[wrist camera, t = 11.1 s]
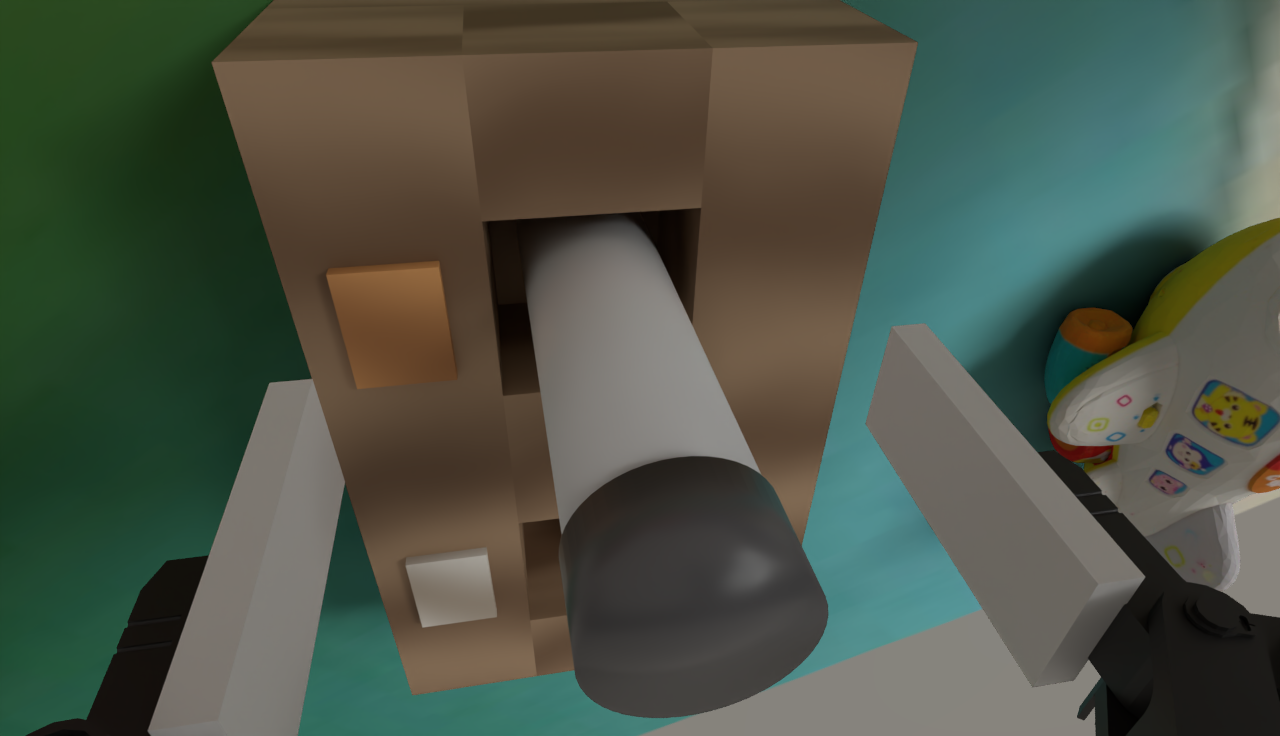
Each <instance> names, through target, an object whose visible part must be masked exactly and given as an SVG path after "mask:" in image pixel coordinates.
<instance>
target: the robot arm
mask: <svg viewBox="0 0 1280 736" xmlns="http://www.w3.org/2000/svg"><path fill="white" fill-rule="evenodd" d="M866 425H867V427H868V428H869V430H870V432H871V433H872V435H873V436H874V438H875V440H876V441H877V443H878V444H879V446H880V447H881V449H882V451H883V452H884V454H885V455H886V457H887V458H888V460H889V462H890V463H891V465H892V466H893V468H894V470H895V471H896V473H897V474H898V476H899V477H900V479H901V481H902V482H903V484H904V485H905V487H906V488H907V490H908V492H909V493H910V495H911V496H912V498H913V499H914V501H915V503H916V504H917V506H918V507H919V509H920V511H921V512H922V514H923V515H924V517H925V518H926V520H927V522H928V523H929V525H930V526H931V528H932V529H933V531H934V533H935V534H936V536H937V537H938V539H939V541H940V542H941V544H942V545H943V547H944V548H945V550H946V552H947V553H948V555H949V556H950V558H951V559H952V561H953V563H954V564H955V566H956V567H957V569H958V571H959V572H960V574H961V575H962V577H963V578H964V580H965V582H966V583H967V585H968V586H969V588H970V589H971V591H972V593H973V594H974V596H975V597H976V599H977V601H978V602H979V604H980V605H981V607H982V608H983V610H984V611H985V613H986V615H987V616H988V618H989V619H990V621H991V622H992V624H993V626H994V627H995V629H996V630H997V632H998V633H999V635H1000V637H1001V638H1002V640H1003V642H1004V643H1005V645H1006V646H1007V648H1008V649H1009V651H1010V653H1011V654H1012V656H1013V657H1014V659H1015V661H1016V662H1017V664H1018V665H1019V667H1020V668H1021V670H1022V671H1023V673H1024V675H1025V676H1026V678H1027V679H1028V681H1029V683H1030V684H1031V686H1032V687H1038V686H1044V685H1050V684H1056V683H1061V682H1066V681H1073V680H1074V679H1075V678H1076V677H1077V675H1078V674H1079V672H1080V671H1081V669H1082V668H1083V667H1084V665H1085V664H1086V662H1087V661H1088V659H1089V660H1090V662H1091V663H1092V665H1093V666H1094V667H1095V669H1096V670H1097V672H1098V673H1099V674H1100V676H1101V678H1100V680H1099V681H1098V682H1097V684H1096V685H1095V687H1094V688H1093V689H1092V691H1091V692H1090V693H1089V695H1088V696H1087V697H1086V699H1085V700H1084V702H1083V703H1082V704H1081V706H1080V708H1079V712H1078V715H1077V718H1079V719H1082V720H1085V719H1086V717H1087V716H1088V715H1089V713H1090V712H1091V711H1092V709H1093V708H1094V707H1095V725H1096V736H1280V618H1278V617H1272V616H1265V615H1258V614H1251V613H1249V612H1248V611H1247V610H1246V608H1245V607H1244V606H1242V605H1241V604H1239V603H1238V602H1236V601H1235V600H1234V599H1232V598H1231V597H1230V596H1228V595H1227V594H1225V593H1223V592H1220V591H1218V590H1216V589H1214V588H1211V587H1209V586H1207V585H1202V584H1197V583H1192V582H1186V581H1185V580H1184V579H1183V578H1182V577H1181V576H1180V575H1179V574H1178V573H1177V572H1176V571H1175V570H1174V569H1173V568H1172V566H1171V565H1170V564H1169V563H1168V562H1167V561H1166V560H1165V559H1164V558H1163V557H1162V556H1161V554H1160V553H1159V552H1158V551H1157V550H1156V549H1155V548H1154V547H1153V546H1152V545H1151V544H1150V542H1149V541H1148V540H1147V539H1146V538H1145V537H1144V536H1143V535H1142V534H1141V533H1140V532H1139V530H1138V529H1137V528H1136V527H1135V526H1134V525H1133V524H1132V523H1131V522H1130V521H1129V520H1128V518H1127V517H1126V516H1125V515H1124V514H1123V513H1119V512H1118V507H1117V506H1116V505H1115V504H1114V503H1113V502H1112V501H1111V500H1110V499H1109V498H1108V497H1107V495H1103V494H1102V490H1101V489H1100V488H1099V487H1098V486H1097V485H1096V483H1095V482H1094V481H1093V480H1092V479H1091V478H1090V477H1089V476H1088V475H1087V474H1086V473H1085V471H1084V470H1083V469H1082V468H1080V467H1079V466H1077V465H1076V464H1074V463H1073V462H1071V461H1070V460H1068V459H1067V458H1065V457H1064V456H1062V455H1060V454H1059V453H1057V452H1056V451H1054V450H1053V451H1045V452H1036V450H1035V449H1034V448H1033V447H1032V446H1031V445H1030V444H1029V442H1028V441H1027V440H1026V439H1025V438H1024V437H1023V435H1022V434H1021V433H1020V432H1019V431H1018V430H1017V429H1016V427H1015V426H1014V425H1013V424H1012V423H1011V422H1010V421H1009V419H1008V418H1007V417H1006V416H1005V415H1004V414H1003V412H1002V411H1001V410H1000V409H999V408H998V407H997V406H996V404H995V403H994V402H993V401H992V400H991V399H990V398H989V396H988V395H987V394H986V393H985V392H984V391H983V389H982V388H981V387H980V386H979V385H978V384H977V383H976V381H975V380H974V379H973V378H972V377H971V376H970V375H969V373H968V372H967V371H966V370H965V369H964V368H963V366H962V365H961V364H960V363H959V362H958V361H957V360H956V358H955V357H954V356H953V355H952V354H951V353H950V352H949V350H948V349H947V348H946V347H945V346H944V345H943V344H942V342H941V341H940V340H939V339H938V338H937V337H936V335H935V334H934V333H933V332H932V331H931V330H930V329H929V327H928V326H927V325H926V324H914V325H903V326H892V328H891V331H890V335H889V339H888V342H887V346H886V350H885V353H884V357H883V361H882V364H881V368H880V372H879V376H878V379H877V383H876V387H875V390H874V394H873V398H872V401H871V405H870V409H869V413H868V416H867V420H866ZM344 484H345V480H344V477H343V474H342V471H341V467H340V464H339V461H338V458H337V455H336V452H335V449H334V445H333V442H332V439H331V436H330V433H329V430H328V426H327V423H326V420H325V417H324V414H323V411H322V408H321V404H320V401H319V398H318V395H317V392H316V389H315V385H314V382H313V379H306V380H295V381H284V382H273V383H269V385H268V388H267V391H266V394H265V397H264V400H263V403H262V405H261V408H260V411H259V414H258V417H257V420H256V423H255V425H254V428H253V431H252V434H251V437H250V440H249V443H248V445H247V448H246V451H245V454H244V457H243V460H242V463H241V465H240V468H239V471H238V474H237V477H236V480H235V483H234V486H233V488H232V491H231V494H230V497H229V500H228V503H227V506H226V508H225V511H224V514H223V517H222V520H221V523H220V526H219V528H218V531H217V534H216V537H215V540H214V543H213V546H212V548H211V551H210V554H209V556H202V557H193V558H185V559H177V560H169V561H166V562H165V564H164V565H163V566H162V567H161V568H160V569H159V570H158V571H157V573H156V574H155V575H154V576H153V577H152V578H151V579H150V580H149V582H148V583H147V584H146V585H145V586H144V587H143V588H142V590H141V591H140V594H139V596H138V598H137V601H136V603H135V605H134V608H133V610H132V613H131V615H130V617H129V620H128V627H127V628H125V629H124V632H123V634H122V636H121V639H120V641H119V644H118V646H117V654H114V655H113V658H112V660H111V663H110V665H109V667H108V670H107V672H106V674H105V677H104V679H103V682H102V684H101V686H100V689H99V691H98V693H97V696H96V698H95V701H94V703H93V705H92V708H91V710H90V712H89V715H88V717H87V720H83V719H79V718H77V719H71V720H65V721H59V722H54V723H51V724H49V725H47V726H45V727H43V728H41V729H38V730H36V731H34V732H32V733H30V734H28V735H26V736H297V735H298V730H299V725H300V719H301V714H302V709H303V703H304V698H305V693H306V687H307V682H308V677H309V671H310V666H311V661H312V655H313V650H314V645H315V639H316V634H317V629H318V623H319V618H320V613H321V607H322V602H323V597H324V591H325V586H326V581H327V575H328V570H329V565H330V559H331V554H332V548H333V543H334V538H335V532H336V527H337V522H338V516H339V511H340V506H341V500H342V495H343V490H344Z"/></svg>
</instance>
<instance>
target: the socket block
mask: <svg viewBox="0 0 1280 736" xmlns="http://www.w3.org/2000/svg"><path fill="white" fill-rule="evenodd" d="M917 45H918V42H916V41H914V40H913V39H911V38H909V37H907V36H905V35H903V34H901V33H899V32H898V31H896V30H894V29H892V28H890V27H888V26H886V25H885V24H883V23H881V22H879V21H877V20H875V19H873V18H872V17H870V16H868V15H866V14H864V13H862V12H860V11H859V10H857V9H855V8H853V7H851V6H849V5H847V4H846V3H844V2H842V1H840V0H274V1H273V2H272V3H271V4H269V5H268V6H267V7H266V8H265V9H264V10H263V11H262V12H261V13H260V14H259V15H258V16H257V17H256V18H255V19H254V20H253V21H252V22H251V23H250V24H249V25H248V26H247V27H246V28H245V29H244V30H243V31H242V32H241V33H240V34H239V35H238V36H237V37H236V38H235V39H234V40H233V41H232V42H231V43H230V44H229V45H228V46H227V47H226V48H225V49H224V50H223V51H222V52H221V53H220V54H219V55H218V56H217V57H216V58H215V59H214V60H213V61H212V65H213V68H214V72H215V75H216V78H217V81H218V84H219V87H220V90H221V94H222V97H223V100H224V103H225V106H226V109H227V112H228V116H229V119H230V122H231V125H232V128H233V131H234V135H235V138H236V141H237V144H238V147H239V150H240V153H241V157H242V160H243V163H244V166H245V169H246V172H247V175H248V179H249V182H250V185H251V188H252V191H253V194H254V198H255V201H256V204H257V207H258V210H259V213H260V216H261V220H262V223H263V226H264V229H265V232H266V235H267V238H268V242H269V245H270V248H271V251H272V254H273V257H274V261H275V264H276V267H277V270H278V273H279V276H280V279H281V283H282V286H283V289H284V292H285V295H286V298H287V301H288V305H289V308H290V311H291V314H292V317H293V320H294V324H295V327H296V330H297V333H298V336H299V339H300V342H301V346H302V349H303V352H304V355H305V358H306V361H307V364H308V368H309V371H310V374H311V377H312V379H313V382H314V385H315V389H316V392H317V395H318V398H319V401H320V404H321V408H322V411H323V414H324V417H325V420H326V423H327V426H328V430H329V433H330V436H331V439H332V442H333V445H334V449H335V452H336V455H337V458H338V461H339V464H340V467H341V471H342V474H343V477H344V480H345V484H346V487H347V491H348V494H349V497H350V500H351V503H352V506H353V509H354V513H355V516H356V519H357V522H358V525H359V528H360V531H361V535H362V538H363V541H364V544H365V547H366V550H367V554H368V557H369V560H370V563H371V566H372V569H373V572H374V576H375V579H376V582H377V585H378V588H379V591H380V594H381V598H382V601H383V604H384V607H385V610H386V613H387V617H388V620H389V623H390V626H391V629H392V632H393V635H394V639H395V642H396V645H397V648H398V651H399V654H400V657H401V661H402V664H403V667H404V670H405V673H406V676H407V680H408V683H409V686H410V689H411V692H412V695H418V694H424V693H430V692H437V691H443V690H450V689H456V688H463V687H469V686H475V685H482V684H488V683H495V682H501V681H508V680H514V679H520V678H527V677H533V676H540V675H546V674H553V673H559V672H565V671H572V670H574V664H573V656H572V649H571V642H570V635H569V628H568V621H567V613H566V606H565V599H564V592H563V585H562V578H561V570H560V563H559V544H560V540H561V536H562V534H561V527H560V520H559V514H558V507H557V500H556V493H555V487H554V480H553V473H552V466H551V460H550V453H549V446H548V439H547V433H546V426H545V419H544V412H543V406H542V399H541V392H540V385H539V379H538V372H537V365H536V358H535V351H534V345H533V338H532V331H531V324H530V318H529V311H528V304H527V297H526V291H525V284H524V277H523V270H522V264H521V257H520V250H519V243H518V237H517V229H516V221H517V219H530V218H546V217H562V216H579V215H595V214H611V213H627V212H640V214H641V216H642V218H643V220H644V222H645V225H646V227H647V229H648V231H649V233H650V235H651V238H652V240H653V242H654V244H655V246H656V248H657V250H658V253H659V255H660V257H661V259H662V261H663V263H664V266H665V268H666V270H667V272H668V274H669V276H670V279H671V281H672V283H673V285H674V287H675V289H676V292H677V294H678V296H679V298H680V300H681V302H682V304H683V307H684V309H685V311H686V313H687V315H688V317H689V320H690V322H691V324H692V326H693V328H694V330H695V333H696V335H697V337H698V339H699V341H700V343H701V345H702V348H703V350H704V352H705V354H706V356H707V358H708V361H709V363H710V365H711V367H712V369H713V371H714V374H715V376H716V378H717V380H718V382H719V384H720V387H721V389H722V391H723V393H724V395H725V397H726V399H727V402H728V404H729V406H730V408H731V410H732V412H733V415H734V417H735V419H736V421H737V423H738V425H739V428H740V430H741V432H742V434H743V436H744V438H745V441H746V443H747V445H748V447H749V449H750V451H751V453H752V456H753V458H754V460H755V462H756V464H757V466H758V469H759V471H760V473H761V475H762V476H763V477H765V478H766V479H767V480H768V482H769V483H770V484H771V485H772V486H773V488H774V490H775V492H776V493H777V495H778V497H779V499H780V501H781V504H782V506H783V508H784V510H785V512H786V514H787V516H788V518H789V521H790V523H791V525H792V527H793V529H794V531H795V533H796V535H797V537H798V540H799V542H800V544H801V546H802V542H803V537H804V533H805V529H806V524H807V520H808V516H809V511H810V507H811V503H812V499H813V494H814V490H815V486H816V481H817V477H818V473H819V468H820V464H821V460H822V455H823V451H824V447H825V442H826V438H827V434H828V429H829V425H830V421H831V417H832V412H833V408H834V404H835V399H836V395H837V391H838V386H839V382H840V378H841V373H842V369H843V365H844V360H845V356H846V352H847V347H848V343H849V339H850V334H851V330H852V326H853V322H854V317H855V313H856V309H857V304H858V300H859V296H860V291H861V287H862V283H863V278H864V274H865V270H866V265H867V261H868V257H869V252H870V248H871V244H872V239H873V235H874V231H875V227H876V222H877V218H878V214H879V209H880V205H881V201H882V196H883V192H884V188H885V183H886V179H887V175H888V170H889V166H890V162H891V157H892V153H893V149H894V144H895V140H896V136H897V132H898V127H899V123H900V119H901V114H902V110H903V106H904V101H905V97H906V93H907V88H908V84H909V80H910V75H911V71H912V67H913V62H914V58H915V54H916V49H917Z"/></svg>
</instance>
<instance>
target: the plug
mask: <svg viewBox="0 0 1280 736" xmlns="http://www.w3.org/2000/svg"><path fill="white" fill-rule="evenodd" d="M516 229H517V237H518V243H519V250H520V257H521V264H522V270H523V277H524V284H525V291H526V297H527V304H528V311H529V318H530V324H531V331H532V338H533V345H534V351H535V358H536V365H537V372H538V379H539V385H540V392H541V399H542V406H543V412H544V419H545V426H546V433H547V439H548V446H549V453H550V460H551V466H552V473H553V480H554V487H555V493H556V500H557V507H558V514H559V520H560V527H561V534H562V536H561V540H560V544H559V563H560V570H561V578H562V585H563V592H564V599H565V606H566V613H567V621H568V628H569V635H570V642H571V649H572V656H573V664H574V670H575V676H576V679H577V682H578V684H579V686H580V688H581V689H582V690H583V692H584V693H585V694H586V695H587V696H588V697H589V698H590V699H591V700H593V701H594V702H596V703H597V704H599V705H601V706H602V707H604V708H607V709H609V710H612V711H614V712H618V713H621V714H625V715H630V716H636V717H647V718H669V717H681V716H688V715H694V714H699V713H704V712H708V711H712V710H716V709H718V708H723V707H726V706H729V705H731V704H734V703H737V702H739V701H742V700H744V699H747V698H749V697H751V696H753V695H755V694H757V693H759V692H761V691H763V690H765V689H767V688H769V687H770V686H772V685H773V684H775V683H777V682H778V681H780V680H781V679H783V678H784V677H785V676H787V675H788V674H789V673H791V672H792V671H793V670H794V669H795V668H797V667H798V666H799V665H800V664H801V663H802V662H803V661H804V660H805V659H806V658H807V657H808V656H809V655H810V654H811V652H812V651H813V650H814V648H815V647H816V646H817V644H818V642H819V641H820V639H821V637H822V635H823V633H824V630H825V628H826V625H827V619H828V604H827V600H826V597H825V595H824V592H823V590H822V588H821V586H820V584H819V582H818V580H817V578H816V575H815V573H814V571H813V569H812V567H811V565H810V563H809V561H808V559H807V556H806V554H805V552H804V550H803V548H802V546H801V544H800V542H799V540H798V537H797V535H796V533H795V531H794V529H793V527H792V525H791V523H790V521H789V518H788V516H787V514H786V512H785V510H784V508H783V506H782V504H781V501H780V499H779V497H778V495H777V493H776V492H775V490H774V488H773V486H772V485H771V484H770V483H769V482H768V480H767V479H766V478H765V477H763V476H762V475H761V473H760V471H759V469H758V466H757V464H756V462H755V460H754V458H753V456H752V453H751V451H750V449H749V447H748V445H747V443H746V441H745V438H744V436H743V434H742V432H741V430H740V428H739V425H738V423H737V421H736V419H735V417H734V415H733V412H732V410H731V408H730V406H729V404H728V402H727V399H726V397H725V395H724V393H723V391H722V389H721V387H720V384H719V382H718V380H717V378H716V376H715V374H714V371H713V369H712V367H711V365H710V363H709V361H708V358H707V356H706V354H705V352H704V350H703V348H702V345H701V343H700V341H699V339H698V337H697V335H696V333H695V330H694V328H693V326H692V324H691V322H690V320H689V317H688V315H687V313H686V311H685V309H684V307H683V304H682V302H681V300H680V298H679V296H678V294H677V292H676V289H675V287H674V285H673V283H672V281H671V279H670V276H669V274H668V272H667V270H666V268H665V266H664V263H663V261H662V259H661V257H660V255H659V253H658V250H657V248H656V246H655V244H654V242H653V240H652V238H651V235H650V233H649V231H648V229H647V227H646V225H645V222H644V220H643V218H642V216H641V214H640V212H627V213H611V214H595V215H579V216H562V217H546V218H530V219H517V221H516Z"/></svg>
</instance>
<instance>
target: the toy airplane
mask: <svg viewBox="0 0 1280 736" xmlns="http://www.w3.org/2000/svg"><path fill="white" fill-rule="evenodd" d="M1123 347H1125V348H1124V349H1122V348H1123ZM1121 349H1122V350H1121ZM1044 383H1045V389H1046V394H1047V399H1048V401H1049V402H1050V403H1051V406H1050V409H1049V411H1048V414H1047V425H1048V430H1049V435H1050V440H1051V442H1052V444H1053V446H1054V448H1055V449H1056V451H1057V452H1058V453H1059V454H1060V455H1062V456H1064V457H1065V458H1067V459H1068V460H1070V461H1072V462H1076V463H1085V464H1084V471H1085V473H1086V474H1087V475H1088V476H1089V477H1090V478H1091V479H1092V480H1093V481H1094V482H1095V483H1096V485H1097V486H1098V487H1099V488H1100V489H1101V490H1102V494H1103V495H1107V497H1108V498H1109V499H1110V500H1111V501H1112V502H1113V503H1114V504H1115V505H1116V506H1117V507H1118V512H1119V513H1123V514H1124V515H1125V516H1126V517H1127V518H1128V520H1129V521H1130V522H1131V523H1132V524H1133V525H1134V526H1135V527H1136V528H1137V529H1138V530H1139V532H1140V533H1141V534H1142V535H1143V536H1144V537H1145V538H1146V539H1147V540H1148V541H1149V542H1150V544H1151V545H1152V546H1153V547H1154V548H1155V549H1156V550H1157V551H1158V552H1159V553H1160V554H1161V556H1162V557H1163V558H1164V559H1165V560H1166V561H1167V562H1168V563H1169V564H1170V565H1171V566H1172V568H1173V569H1174V570H1175V571H1176V572H1177V573H1178V574H1179V575H1180V576H1181V577H1182V578H1183V579H1184V580H1185V581H1186V582H1192V583H1197V584H1202V585H1207V586H1209V587H1211V588H1214V589H1216V590H1218V591H1223V590H1226V589H1227V588H1228V587H1230V586H1231V585H1232V584H1233V583H1234V582H1235V580H1236V577H1237V575H1238V573H1239V570H1240V553H1239V544H1238V536H1237V532H1236V525H1235V518H1234V512H1233V505H1232V504H1234V503H1236V502H1238V501H1240V500H1242V499H1244V498H1245V497H1247V496H1249V495H1252V494H1255V493H1264V492H1269V491H1272V490H1275V489H1279V488H1280V218H1276V219H1273V220H1270V221H1267V222H1263V223H1260V224H1257V225H1254V226H1250V227H1248V228H1246V229H1243V230H1241V231H1239V232H1237V233H1234V234H1232V235H1230V236H1228V237H1226V238H1224V239H1222V240H1220V241H1219V242H1217V243H1215V244H1214V245H1212V246H1210V247H1208V248H1207V249H1205V250H1204V251H1202V252H1201V253H1199V254H1198V255H1197V256H1195V257H1194V258H1192V259H1191V260H1190V261H1188V262H1187V263H1185V264H1182V265H1180V266H1179V267H1177V268H1175V269H1174V270H1172V271H1171V272H1170V273H1169V274H1167V275H1166V276H1165V277H1164V278H1163V279H1162V280H1161V282H1160V283H1159V284H1158V285H1157V286H1156V288H1155V290H1154V292H1153V294H1152V295H1151V297H1150V300H1149V303H1148V306H1147V307H1146V309H1145V310H1144V312H1143V314H1142V315H1141V317H1140V319H1139V320H1138V322H1137V324H1136V326H1135V328H1134V330H1133V332H1132V326H1131V325H1130V324H1129V322H1128V321H1126V320H1125V319H1123V318H1122V317H1121V316H1119V315H1118V314H1116V313H1115V312H1113V311H1112V310H1106V309H1100V308H1082V309H1076V310H1074V311H1072V312H1070V313H1069V314H1068V316H1067V317H1066V319H1065V320H1064V322H1063V323H1062V325H1061V326H1060V327H1059V329H1058V332H1057V334H1056V337H1055V339H1054V342H1053V344H1052V347H1051V349H1050V352H1049V355H1048V358H1047V363H1046V367H1045V378H1044Z"/></svg>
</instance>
